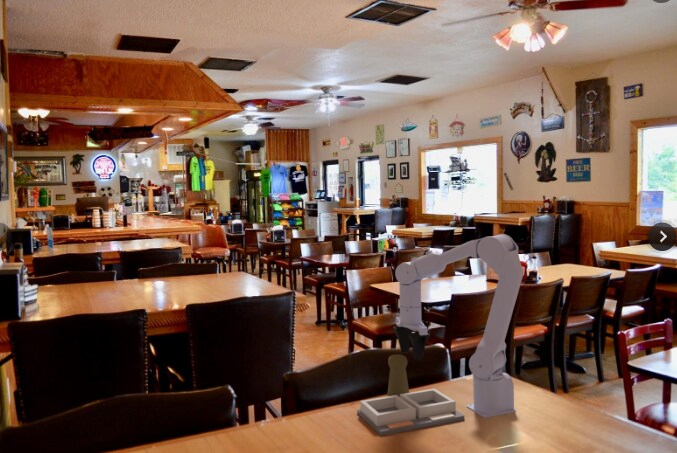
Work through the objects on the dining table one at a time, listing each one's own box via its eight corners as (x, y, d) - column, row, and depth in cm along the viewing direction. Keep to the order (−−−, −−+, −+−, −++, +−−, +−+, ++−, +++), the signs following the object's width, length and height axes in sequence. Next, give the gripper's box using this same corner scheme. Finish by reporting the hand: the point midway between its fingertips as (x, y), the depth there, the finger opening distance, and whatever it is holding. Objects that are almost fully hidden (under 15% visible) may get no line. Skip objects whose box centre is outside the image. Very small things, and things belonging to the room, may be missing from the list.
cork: (408, 400, 146) (408, 359, 145) (386, 399, 147) (385, 358, 146) (410, 392, 152) (409, 352, 151) (388, 391, 153) (387, 352, 152)
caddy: (434, 400, 145) (434, 387, 145) (464, 419, 132) (464, 405, 132) (357, 413, 138) (356, 400, 137) (381, 436, 124) (380, 420, 124)
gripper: (385, 302, 155) (386, 350, 156) (409, 312, 141) (410, 364, 142) (408, 300, 157) (409, 347, 158) (434, 309, 144) (434, 361, 145)
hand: (411, 355), depth 150 cm, fingers open, 7 cm apart
